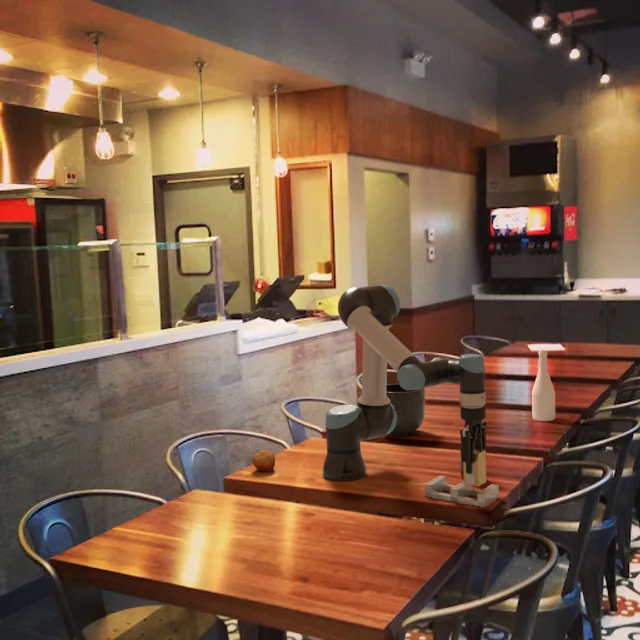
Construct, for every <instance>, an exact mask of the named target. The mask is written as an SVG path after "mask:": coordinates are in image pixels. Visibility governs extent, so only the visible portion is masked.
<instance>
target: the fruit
mask: <svg viewBox="0 0 640 640" xmlns="http://www.w3.org/2000/svg"><path fill="white" fill-rule="evenodd" d="M252 464H253V466H254V467H255V469H256V471H258V472H261V473H262V472H272V470H274V468H275V465H276V456H275V455H274V453H273V452H272V451H270V450H268V449H265V450H261V451H258V452H257V453H255V454H254V456H253V457H252Z"/></svg>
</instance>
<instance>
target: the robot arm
mask: <svg viewBox="0 0 640 640" xmlns="http://www.w3.org/2000/svg"><path fill="white" fill-rule="evenodd" d="M400 309H401V300H400V297H399V294H398V293H397V292H396V291H395V289H394V288H392V287H391V286H389V285H387V284H385V285H384V284H376V285H367V286H360V287H359V286H355V287H350V288H349V289H347V290H346V291H344V292H343V293H342V294H341V296H340V297H339V300H338V303H337V312H338V315H339V316H338V317H339V318H340V320H341V321H342V323H343V324H344V325H345V327H347V328H348V329H349V330H350V331H352V332H356V333H357V334H358V335H359V336H360V337H361V338H362V364H361V365H362V370H361V372H362V373H361V375H362V376H361V378H362V379H361V395H360V396H359V397H358V398H357V403H356V404H357V405H355V404H341V405H337V406H334V407H332V408H330V409H328V410H327V411H326V413H325V423H324V425H325V434H326V435H325V437H326V457H325V460H324V461H323V462H324V463H323V467H322V477H324V478H325V479H328V480H329V481H330V480H331V481H339V482H343V481H344V482H346V481H348V482H349V481H355V480H359V479H362V478H364V477H366V476H367V466H366V463H365V461H364V458H363V454H362V450H361V442H363V441H367V440H371V439H376V438H382V437H384V436H387V435H390V433H391V432H392V431H393V429H394V428H395V426H396V422H397V414H396V411H394V410H395V408H394V406H393V405H392V404H391V403H390V399H389V398H388V397H387V396H386V385H388V384H387V382H388V381H387V377H388V375H387V374H388V365H389V366H390V367H391V368H392V369H393V370H394V371H395V372H396V373H397V374H396V375H397V376H396V379H397V382H398V384H400V386H401V387H402V388H403V389H405V390H418V389H421V388H429V387H434V386H439V385H444V384H454V385H459V404H460V408H459V409H460V413H459V414H460V418H461V419H462V420H464V429H460V431H459V436H460V447H461V461H462V462H465V463H466V483H469V484H475V463H474V462H473V459H474V448H475V449H482V450H485V454H486V455H487V452H488V451H487V421H484V420H485V419H486V418H487V412H486V411H487V407H486V406H485V405H486V399H487V396H486V367H485V358H484V356H483V355H482V354H478V353H464V354H461V355H459V358H458V359H455V358H449V357H444V356H443V357H439V356H438V357H434V358H432V360H430V361H425V362H423V361H421V360H420V359H419V358H418V357H416V356H415V354H414V353H413V352H412V351H410V350H409V349H408V348H407V346H405V345H404V344H403V343H402V342H401V341H400V340H399V339H398V338H397V337H396V336H395V335H394V334H393V333H392V332H390V330H389V329H390V328H391V327H392V326H393V322H394V321H393V320H394V319H393V318H396V317H397V316H398V314H399V312H400V311H401V310H400ZM461 461H460V462H461Z"/></svg>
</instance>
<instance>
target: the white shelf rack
mask: <svg viewBox="0 0 640 640" xmlns="http://www.w3.org/2000/svg"><path fill="white" fill-rule="evenodd" d="M447 479H448V478H447V476H446V475H438V476H436V477H435V478H433V479H431V480H429V481H428V482H426V483H425V484H424V494H425V495H424V496H427V497H426V498H430V497H432V498H431V499H435V500H436V499H437V500H442V501H447V502H453V503H456V504H462V505H467V504H468V506H472V505H474V506H473V507H477V506H480V507H479V508H483V507H485V508H487V507H488V506H489V504H490V503H491V504H493V503H494V502H495V501H496V499H497V500H498V499H499V498H500V495H499V494H500V493H499V492H500V491H499V490H500V489H499V485H498V484H493V483H491V484H490V485H488V486H486V487H484V488H483V489H476V488H473V485H467V484H464V480H462V481H460V482H459V483H457V484H449V483H447ZM444 491H447V492H450V493H445V492H444ZM474 495H475V497H477V498H476V499H475V498H472V497H469V496H474ZM493 501H494V502H493ZM491 504H490V505H491ZM486 506H487V507H486Z"/></svg>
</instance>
